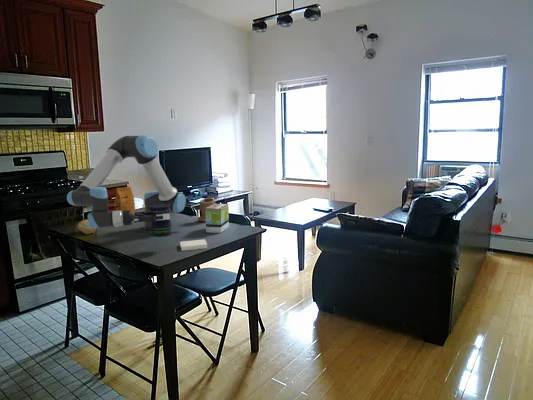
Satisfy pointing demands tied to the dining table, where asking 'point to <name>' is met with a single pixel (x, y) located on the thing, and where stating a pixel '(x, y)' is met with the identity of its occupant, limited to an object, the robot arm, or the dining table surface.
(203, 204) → the stone cup
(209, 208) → the tea box
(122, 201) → the coffee package
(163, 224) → the storage jar
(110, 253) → the dining table surface
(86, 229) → the bread roll
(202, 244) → the tile
